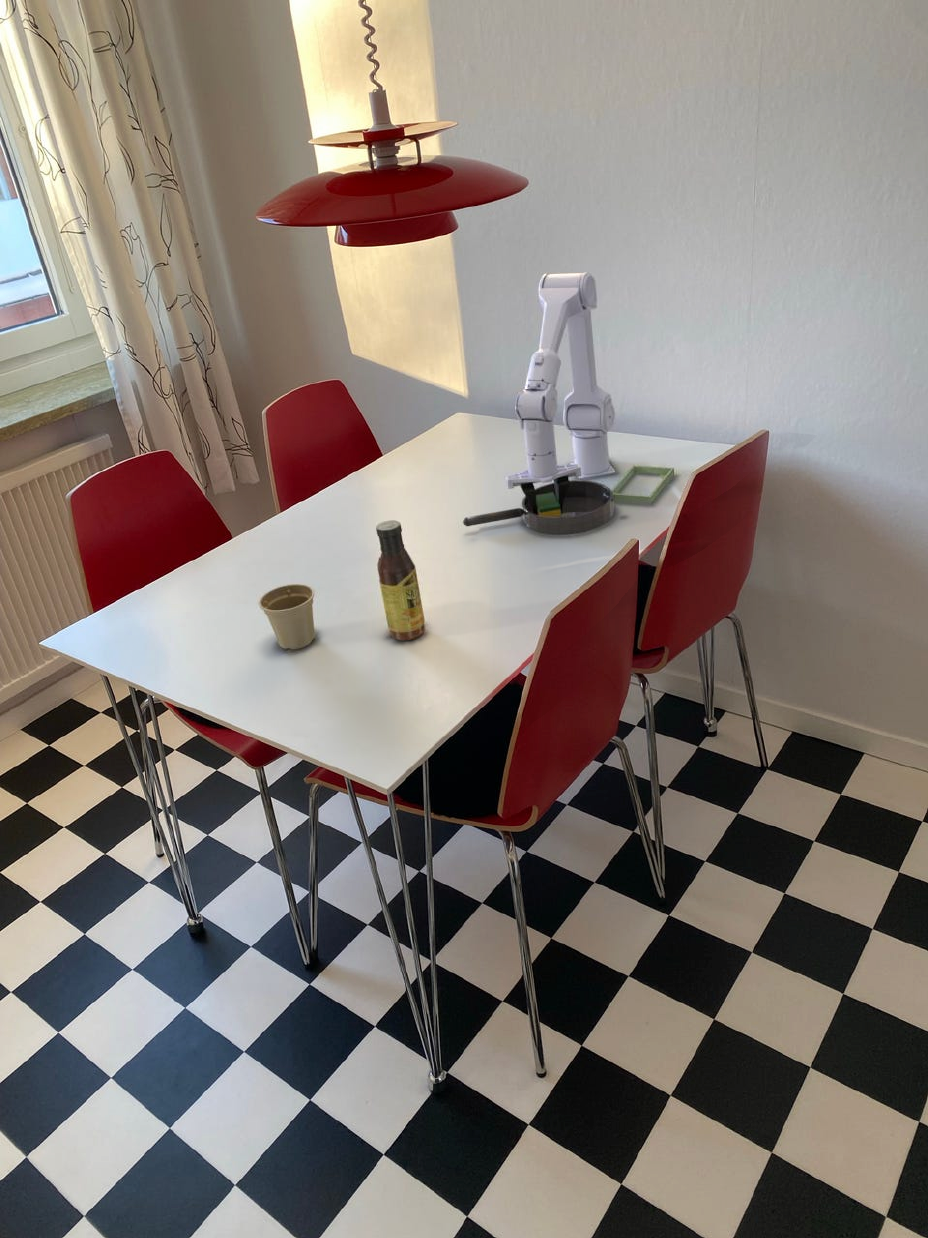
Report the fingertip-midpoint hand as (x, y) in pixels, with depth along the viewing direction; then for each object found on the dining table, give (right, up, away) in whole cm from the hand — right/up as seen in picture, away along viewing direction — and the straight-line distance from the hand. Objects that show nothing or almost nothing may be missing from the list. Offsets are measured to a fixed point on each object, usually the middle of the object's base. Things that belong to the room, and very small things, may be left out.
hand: (547, 514), depth 196 cm
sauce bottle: (-26, -23, -30) cm, 46 cm away
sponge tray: (+20, +6, +7) cm, 22 cm away
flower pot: (-45, -25, -27) cm, 58 cm away
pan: (+4, 0, +1) cm, 4 cm away
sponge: (0, -1, 0) cm, 1 cm away
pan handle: (-11, -1, -1) cm, 11 cm away
